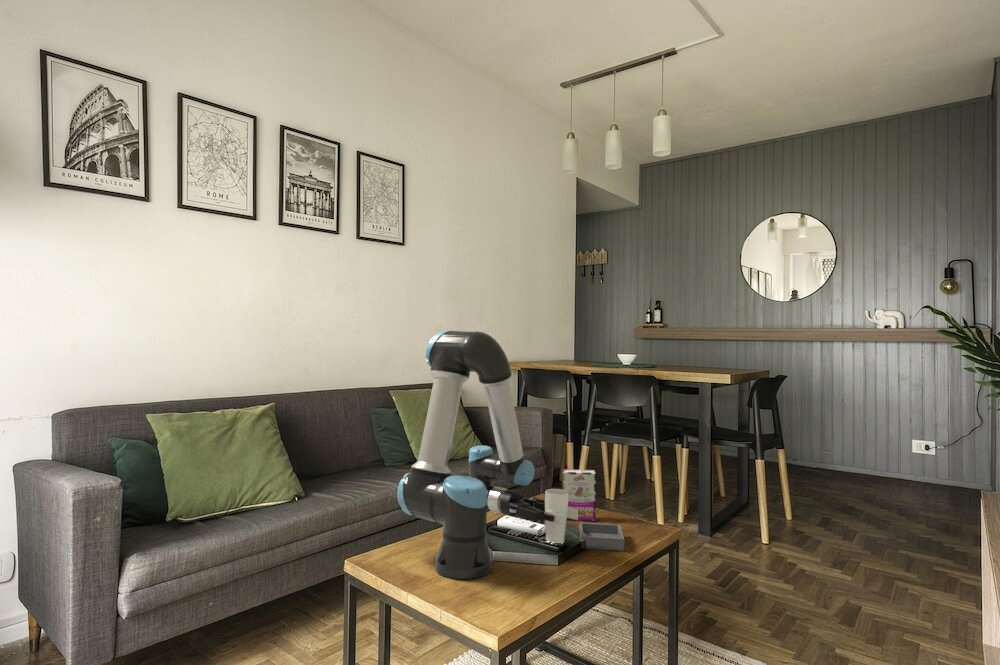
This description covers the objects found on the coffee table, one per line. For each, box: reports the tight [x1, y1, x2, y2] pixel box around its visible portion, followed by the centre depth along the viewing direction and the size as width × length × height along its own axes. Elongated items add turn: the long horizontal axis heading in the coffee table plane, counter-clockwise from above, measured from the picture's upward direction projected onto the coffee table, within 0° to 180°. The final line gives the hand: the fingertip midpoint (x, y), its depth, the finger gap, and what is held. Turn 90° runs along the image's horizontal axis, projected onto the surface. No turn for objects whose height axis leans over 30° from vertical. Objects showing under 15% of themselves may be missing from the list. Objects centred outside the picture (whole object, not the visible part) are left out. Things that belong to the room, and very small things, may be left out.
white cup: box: [544, 488, 568, 545], centre depth 162 cm, size 7×7×15 cm
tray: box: [578, 521, 625, 552], centre depth 170 cm, size 13×13×4 cm
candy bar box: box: [562, 468, 597, 522], centre depth 192 cm, size 11×5×16 cm, turn 84°
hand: (571, 517), depth 159 cm, fingers closed on white cup, 6 cm apart
